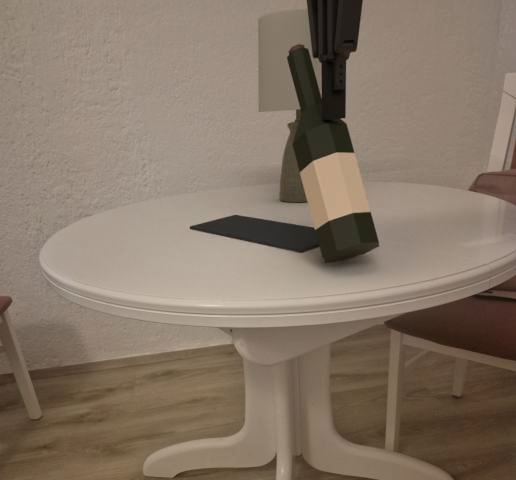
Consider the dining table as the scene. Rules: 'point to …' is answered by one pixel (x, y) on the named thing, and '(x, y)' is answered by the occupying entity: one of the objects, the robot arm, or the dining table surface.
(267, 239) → the mat
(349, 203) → the wine bottle
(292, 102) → the lamp
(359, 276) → the dining table surface
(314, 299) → the dining table surface
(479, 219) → the dining table surface
